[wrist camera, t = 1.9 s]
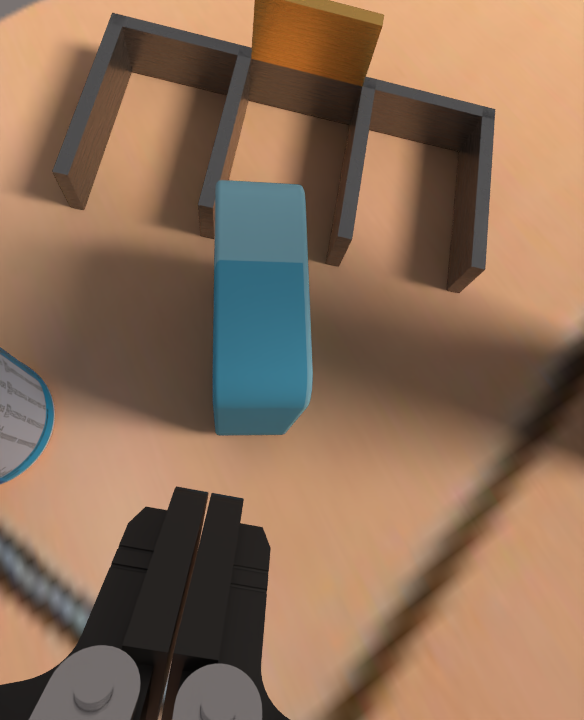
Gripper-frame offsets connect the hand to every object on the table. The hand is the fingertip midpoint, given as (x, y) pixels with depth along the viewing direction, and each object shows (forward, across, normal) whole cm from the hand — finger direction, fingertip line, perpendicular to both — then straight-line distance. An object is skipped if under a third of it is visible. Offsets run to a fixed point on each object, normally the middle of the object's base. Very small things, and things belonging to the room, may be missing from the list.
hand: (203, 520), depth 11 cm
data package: (+23, 0, +8) cm, 24 cm away
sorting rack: (+34, 0, -3) cm, 34 cm away
